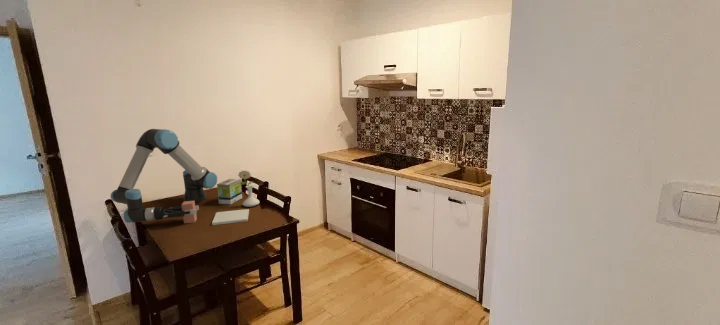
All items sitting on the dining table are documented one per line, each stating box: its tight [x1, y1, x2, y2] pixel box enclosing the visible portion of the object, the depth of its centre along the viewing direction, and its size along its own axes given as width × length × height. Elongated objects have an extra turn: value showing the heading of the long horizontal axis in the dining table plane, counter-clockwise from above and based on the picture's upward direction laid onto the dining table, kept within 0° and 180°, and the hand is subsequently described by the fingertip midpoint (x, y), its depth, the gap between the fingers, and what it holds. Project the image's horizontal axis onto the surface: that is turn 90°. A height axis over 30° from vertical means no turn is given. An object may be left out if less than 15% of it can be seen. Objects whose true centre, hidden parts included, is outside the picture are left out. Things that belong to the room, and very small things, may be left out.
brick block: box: [181, 201, 198, 225], centre depth 203 cm, size 6×6×12 cm
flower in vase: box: [238, 170, 260, 208], centre depth 228 cm, size 13×11×25 cm
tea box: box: [216, 178, 243, 205], centre depth 238 cm, size 15×10×15 cm, turn 168°
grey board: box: [211, 208, 250, 226], centre depth 208 cm, size 18×20×2 cm
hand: (197, 209), depth 204 cm, fingers closed on brick block, 6 cm apart
